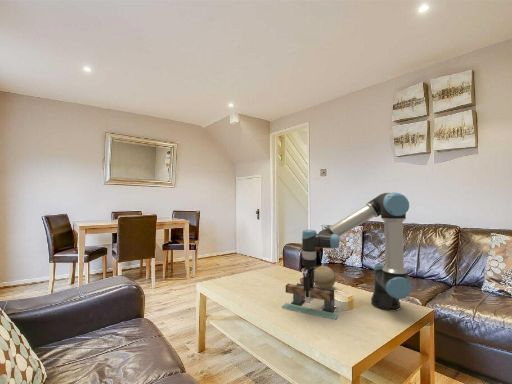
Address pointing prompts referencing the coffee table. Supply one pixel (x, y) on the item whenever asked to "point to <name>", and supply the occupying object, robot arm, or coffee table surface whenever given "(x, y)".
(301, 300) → the post
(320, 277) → the decorative ball
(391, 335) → the coffee table surface
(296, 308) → the mat
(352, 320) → the coffee table surface
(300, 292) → the rail
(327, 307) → the post
